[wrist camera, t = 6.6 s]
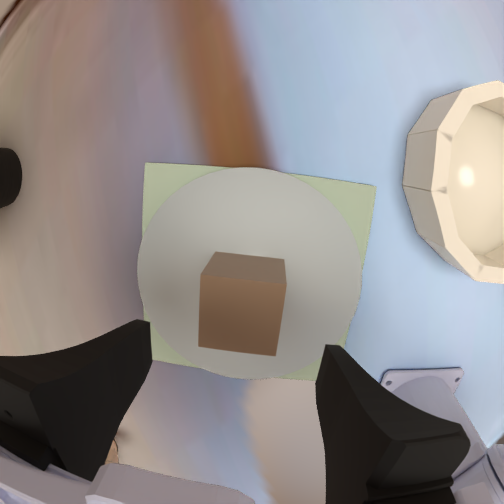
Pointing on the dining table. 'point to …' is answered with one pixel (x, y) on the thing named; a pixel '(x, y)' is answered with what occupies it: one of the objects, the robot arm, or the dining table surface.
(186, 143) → the dining table surface
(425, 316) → the dining table surface
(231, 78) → the dining table surface
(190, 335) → the cover
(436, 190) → the bowl
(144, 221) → the mat
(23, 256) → the dining table surface
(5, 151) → the drinking cup
